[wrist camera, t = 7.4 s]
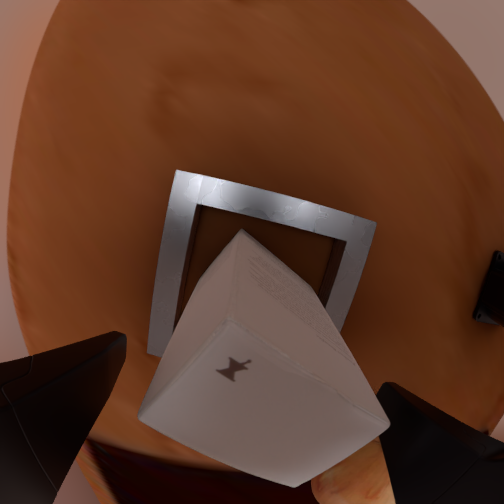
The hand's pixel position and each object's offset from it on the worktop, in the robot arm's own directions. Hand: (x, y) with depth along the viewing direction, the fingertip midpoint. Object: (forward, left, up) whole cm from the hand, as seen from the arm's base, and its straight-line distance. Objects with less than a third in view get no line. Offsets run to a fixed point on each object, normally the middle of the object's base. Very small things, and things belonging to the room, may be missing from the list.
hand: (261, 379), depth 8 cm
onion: (-13, +13, -10) cm, 21 cm away
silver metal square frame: (0, 0, -10) cm, 10 cm away
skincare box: (0, 0, -10) cm, 10 cm away
